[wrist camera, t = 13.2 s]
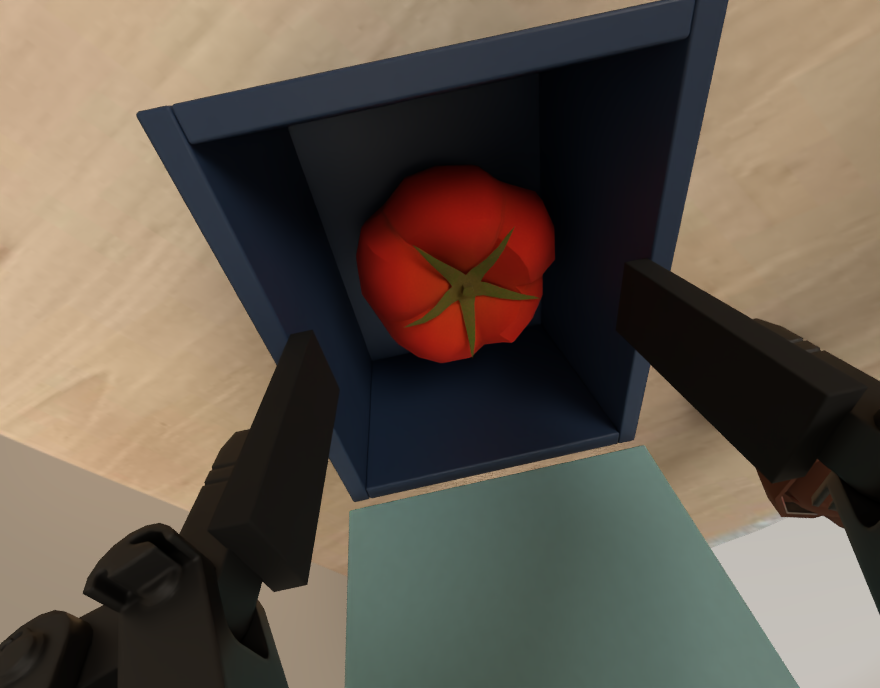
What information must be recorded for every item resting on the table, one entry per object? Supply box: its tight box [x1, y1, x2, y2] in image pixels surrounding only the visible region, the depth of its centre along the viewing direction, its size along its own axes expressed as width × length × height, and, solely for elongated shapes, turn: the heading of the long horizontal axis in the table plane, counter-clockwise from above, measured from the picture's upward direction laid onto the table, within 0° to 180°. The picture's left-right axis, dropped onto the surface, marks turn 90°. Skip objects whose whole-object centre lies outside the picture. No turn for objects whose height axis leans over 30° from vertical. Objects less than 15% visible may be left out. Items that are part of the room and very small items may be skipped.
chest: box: [136, 0, 728, 502], centre depth 17 cm, size 16×14×11 cm
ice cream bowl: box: [756, 459, 844, 528], centre depth 26 cm, size 11×11×15 cm
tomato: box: [356, 165, 555, 363], centre depth 17 cm, size 9×9×8 cm
